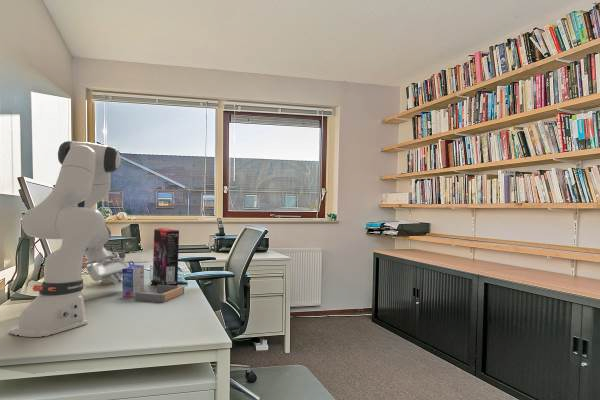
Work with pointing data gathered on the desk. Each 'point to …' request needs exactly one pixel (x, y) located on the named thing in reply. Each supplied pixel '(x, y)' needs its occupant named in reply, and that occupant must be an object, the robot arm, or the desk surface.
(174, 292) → the u-shaped bracket
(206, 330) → the desk surface
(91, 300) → the desk surface
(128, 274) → the ink cartridge box
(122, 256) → the reusable coffee cup
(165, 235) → the graphics card box
